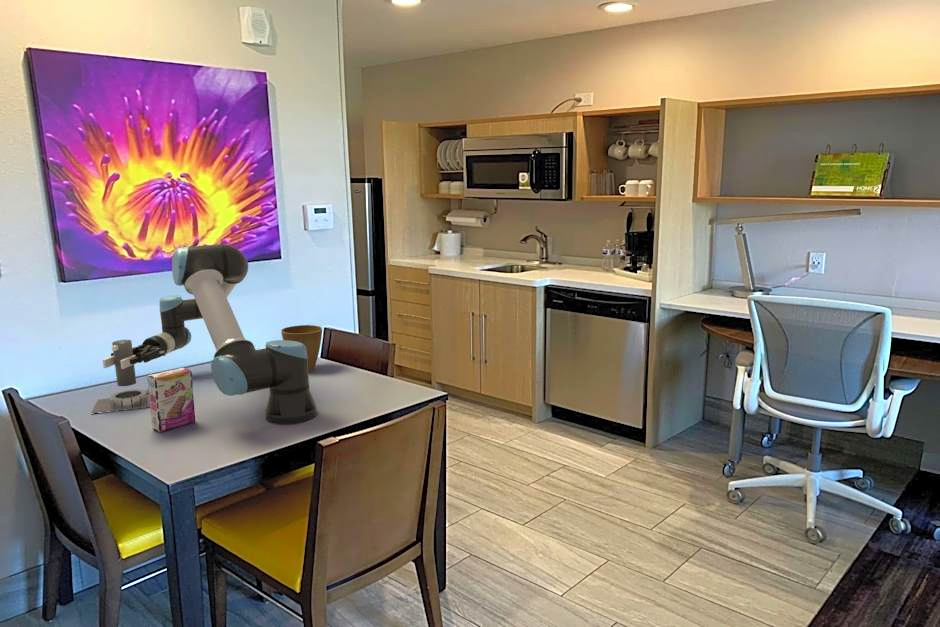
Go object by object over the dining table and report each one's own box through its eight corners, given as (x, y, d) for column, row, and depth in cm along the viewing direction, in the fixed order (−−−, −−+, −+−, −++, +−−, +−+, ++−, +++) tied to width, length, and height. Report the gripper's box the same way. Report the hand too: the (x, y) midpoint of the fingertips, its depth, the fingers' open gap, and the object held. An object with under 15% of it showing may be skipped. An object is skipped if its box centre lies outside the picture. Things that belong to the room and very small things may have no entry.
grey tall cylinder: (124, 380, 223) (119, 339, 220) (139, 381, 222) (135, 339, 220) (110, 387, 217) (105, 344, 214) (126, 387, 216) (121, 345, 213)
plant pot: (293, 378, 246) (290, 335, 243) (278, 369, 258) (275, 328, 255) (331, 371, 255) (328, 329, 252) (315, 362, 267) (312, 322, 264)
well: (161, 406, 218) (160, 396, 218) (91, 414, 211) (90, 405, 211) (164, 393, 231) (163, 384, 230) (98, 401, 224) (97, 392, 224)
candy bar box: (160, 433, 195) (154, 378, 192) (152, 429, 198) (145, 375, 195) (197, 422, 203) (191, 369, 200) (188, 418, 206) (183, 366, 203)
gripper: (183, 357, 235) (140, 376, 213) (135, 355, 238) (88, 374, 216) (181, 336, 234) (138, 353, 211) (132, 334, 237) (85, 351, 214)
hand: (113, 364), depth 214 cm, fingers closed on grey tall cylinder, 5 cm apart
